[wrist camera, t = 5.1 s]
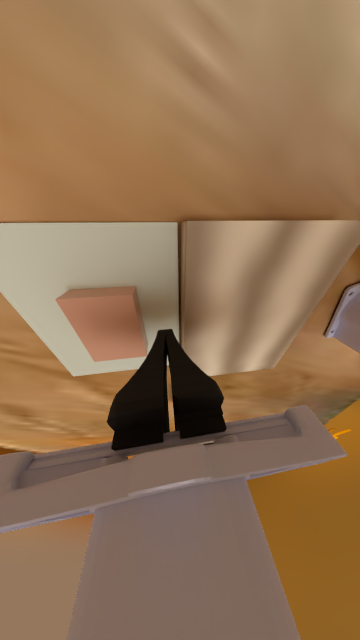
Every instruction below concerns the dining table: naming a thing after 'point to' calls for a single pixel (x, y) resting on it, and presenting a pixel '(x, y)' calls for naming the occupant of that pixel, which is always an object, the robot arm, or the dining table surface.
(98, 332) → the block
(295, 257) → the block
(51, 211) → the dining table surface
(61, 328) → the mat
